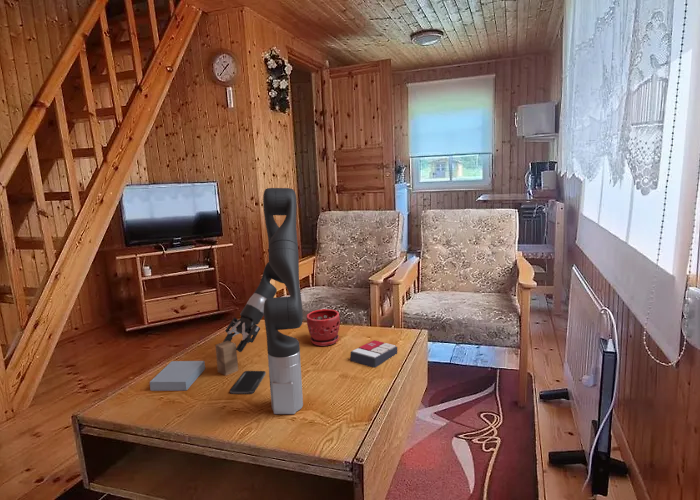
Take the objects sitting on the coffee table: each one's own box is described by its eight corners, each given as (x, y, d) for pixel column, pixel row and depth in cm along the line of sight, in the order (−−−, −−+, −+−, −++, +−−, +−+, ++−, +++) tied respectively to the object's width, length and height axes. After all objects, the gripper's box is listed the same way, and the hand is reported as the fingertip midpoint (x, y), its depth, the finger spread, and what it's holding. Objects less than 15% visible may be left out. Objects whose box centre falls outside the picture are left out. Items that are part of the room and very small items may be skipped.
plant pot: (310, 336, 190) (308, 309, 188) (341, 336, 189) (340, 308, 187) (305, 348, 177) (304, 319, 175) (339, 348, 176) (338, 318, 174)
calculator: (397, 344, 169) (375, 356, 157) (397, 355, 170) (375, 368, 158) (373, 338, 176) (349, 349, 164) (373, 349, 176) (350, 361, 164)
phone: (228, 391, 143) (244, 370, 158) (228, 395, 143) (244, 373, 158) (252, 392, 142) (266, 371, 157) (253, 395, 142) (266, 374, 157)
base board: (186, 390, 146) (185, 381, 146) (150, 390, 147) (149, 382, 147) (205, 368, 162) (204, 360, 162) (172, 369, 163) (171, 361, 162)
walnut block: (238, 370, 160) (235, 343, 158) (225, 375, 156) (223, 348, 154) (230, 366, 163) (227, 340, 161) (217, 371, 159) (215, 344, 158)
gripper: (237, 300, 168) (212, 338, 162) (261, 306, 159) (236, 348, 153) (250, 310, 173) (227, 348, 167) (274, 317, 164) (250, 357, 157)
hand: (231, 348), depth 160 cm, fingers open, 8 cm apart
